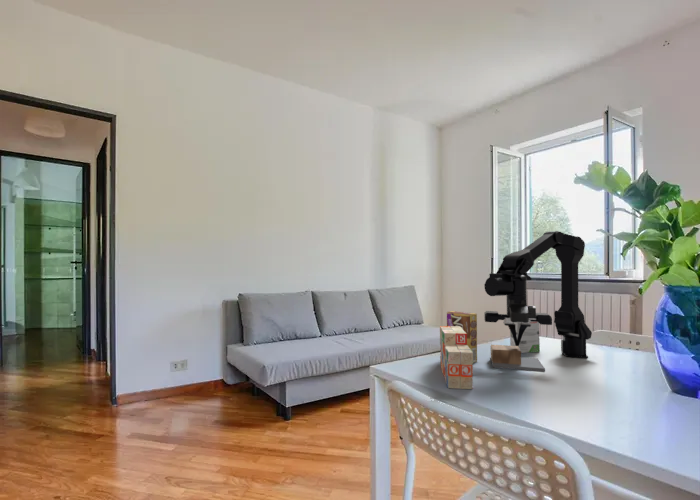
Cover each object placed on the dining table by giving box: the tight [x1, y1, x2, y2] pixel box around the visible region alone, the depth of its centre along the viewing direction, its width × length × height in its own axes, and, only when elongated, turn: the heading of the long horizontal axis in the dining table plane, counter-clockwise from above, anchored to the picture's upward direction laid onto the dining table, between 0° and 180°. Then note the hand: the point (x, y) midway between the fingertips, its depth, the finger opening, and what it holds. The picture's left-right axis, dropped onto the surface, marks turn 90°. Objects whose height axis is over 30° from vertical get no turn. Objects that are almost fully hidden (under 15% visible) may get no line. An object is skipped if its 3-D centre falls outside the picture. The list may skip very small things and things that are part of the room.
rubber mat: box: [490, 356, 546, 372], centre depth 117 cm, size 14×12×1 cm
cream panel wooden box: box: [490, 344, 522, 365], centre depth 118 cm, size 4×7×8 cm
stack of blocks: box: [439, 325, 474, 390], centre depth 106 cm, size 21×6×12 cm, turn 172°
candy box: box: [446, 310, 478, 364], centre depth 122 cm, size 9×4×15 cm, turn 39°
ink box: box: [509, 321, 541, 354], centre depth 134 cm, size 9×5×12 cm, turn 99°
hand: (517, 345), depth 117 cm, fingers closed
